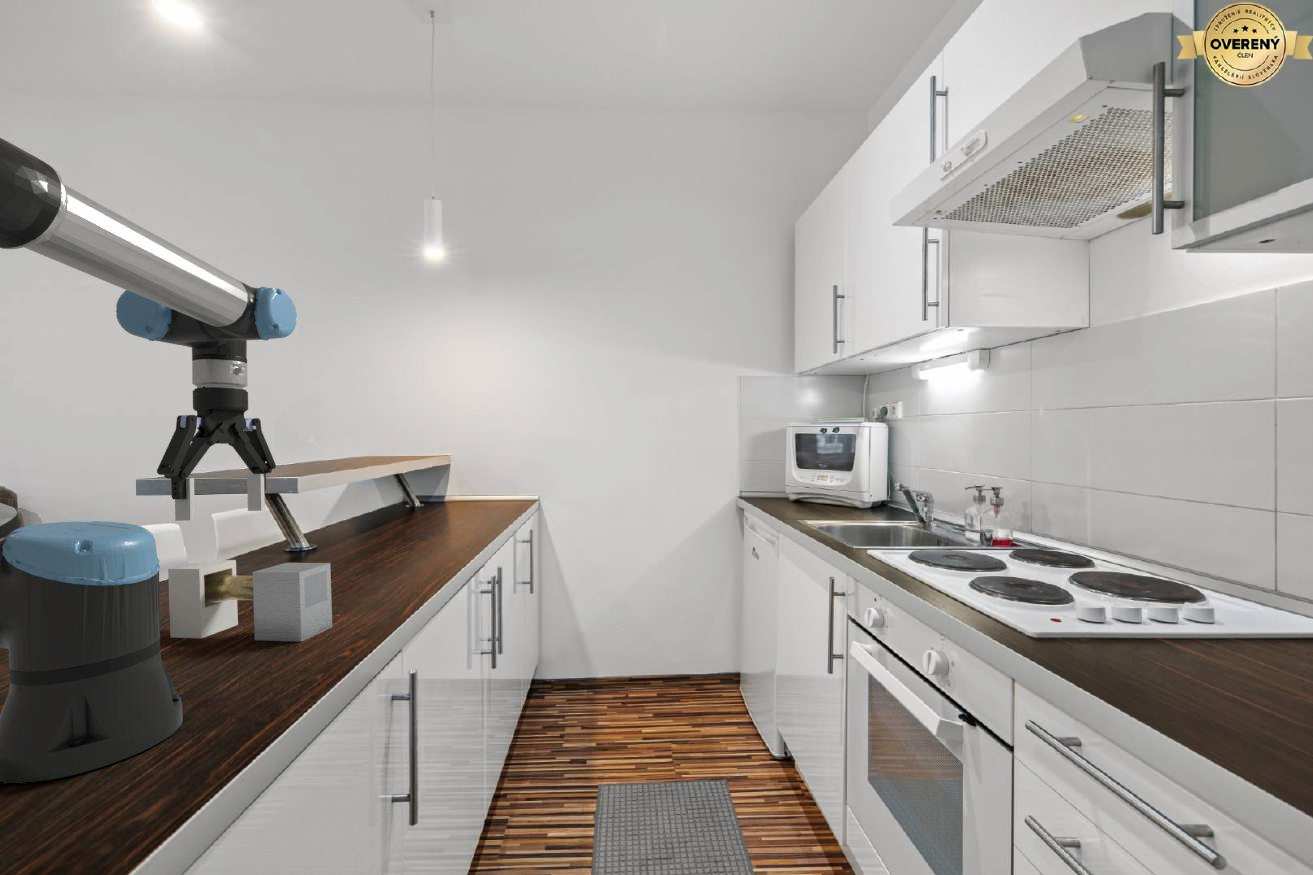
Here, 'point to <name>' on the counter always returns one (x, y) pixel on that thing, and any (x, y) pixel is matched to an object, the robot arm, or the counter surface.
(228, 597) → the mottled khaki block
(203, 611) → the socket
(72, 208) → the robot arm
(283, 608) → the grey block
